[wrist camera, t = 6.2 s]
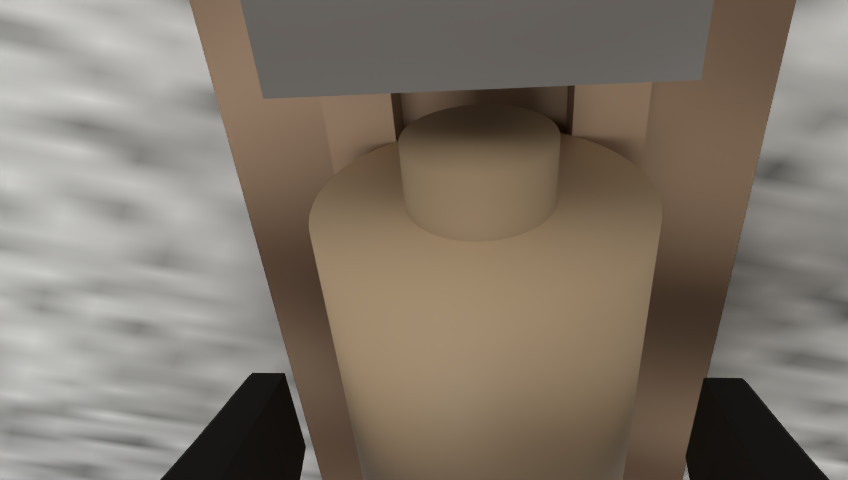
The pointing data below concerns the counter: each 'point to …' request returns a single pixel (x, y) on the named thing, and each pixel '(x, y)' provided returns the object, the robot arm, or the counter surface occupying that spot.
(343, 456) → the cradle
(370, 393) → the bottle
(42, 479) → the counter surface
